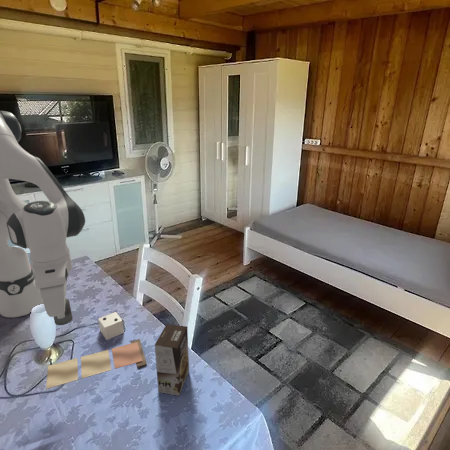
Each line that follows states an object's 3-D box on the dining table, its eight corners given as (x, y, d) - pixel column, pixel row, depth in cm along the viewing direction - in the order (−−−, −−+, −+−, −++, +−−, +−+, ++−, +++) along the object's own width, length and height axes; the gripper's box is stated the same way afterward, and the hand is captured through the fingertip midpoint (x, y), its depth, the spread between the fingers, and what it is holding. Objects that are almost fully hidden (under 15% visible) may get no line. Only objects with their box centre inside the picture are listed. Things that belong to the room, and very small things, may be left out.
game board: (45, 365, 98) (44, 363, 98) (139, 340, 109) (139, 338, 108) (42, 396, 88) (41, 394, 87) (147, 365, 98) (146, 363, 98)
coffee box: (180, 396, 88) (177, 348, 82) (157, 392, 89) (153, 345, 84) (190, 370, 96) (188, 325, 91) (169, 367, 98) (166, 322, 92)
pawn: (55, 317, 90) (49, 292, 87) (72, 313, 92) (67, 289, 89) (54, 326, 86) (48, 301, 84) (72, 322, 88) (67, 297, 85)
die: (100, 333, 112) (98, 317, 110) (117, 326, 116) (115, 310, 113) (106, 342, 108) (104, 326, 105) (124, 335, 111) (122, 319, 109)
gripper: (42, 251, 91) (51, 293, 96) (34, 286, 73) (45, 337, 78) (66, 247, 93) (74, 289, 98) (64, 281, 76) (74, 330, 81)
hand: (61, 310), depth 88 cm, fingers closed on pawn, 4 cm apart
